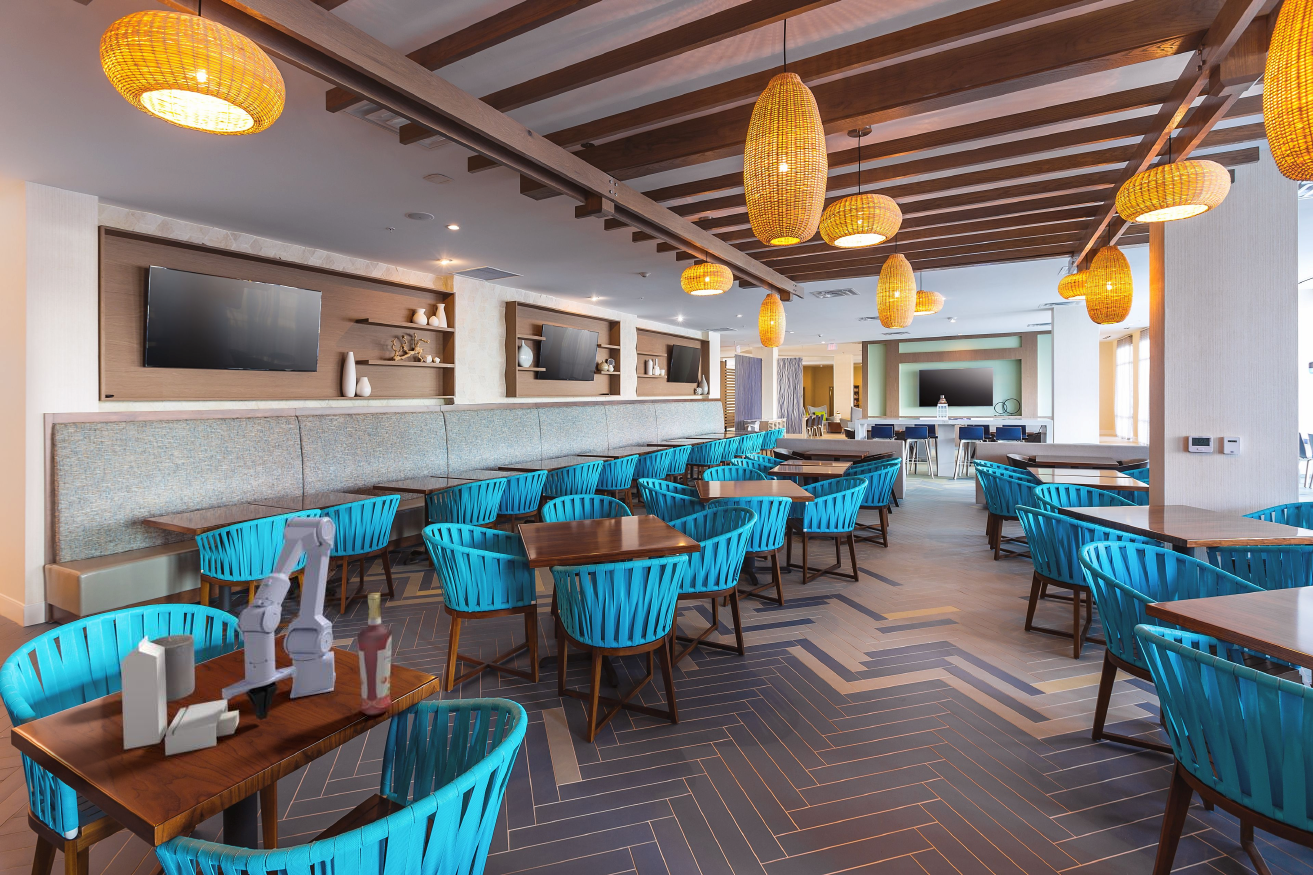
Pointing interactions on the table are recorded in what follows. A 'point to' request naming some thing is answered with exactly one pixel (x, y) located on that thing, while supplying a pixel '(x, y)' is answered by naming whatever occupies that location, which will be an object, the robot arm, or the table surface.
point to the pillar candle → (178, 665)
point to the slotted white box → (194, 727)
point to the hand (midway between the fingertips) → (261, 717)
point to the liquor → (375, 661)
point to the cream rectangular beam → (227, 723)
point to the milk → (144, 695)
